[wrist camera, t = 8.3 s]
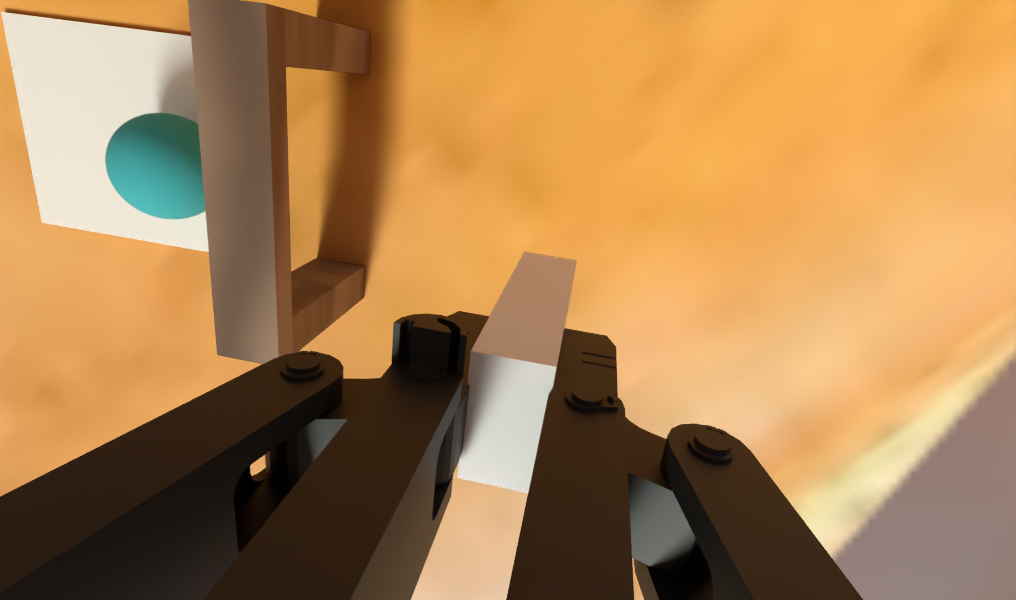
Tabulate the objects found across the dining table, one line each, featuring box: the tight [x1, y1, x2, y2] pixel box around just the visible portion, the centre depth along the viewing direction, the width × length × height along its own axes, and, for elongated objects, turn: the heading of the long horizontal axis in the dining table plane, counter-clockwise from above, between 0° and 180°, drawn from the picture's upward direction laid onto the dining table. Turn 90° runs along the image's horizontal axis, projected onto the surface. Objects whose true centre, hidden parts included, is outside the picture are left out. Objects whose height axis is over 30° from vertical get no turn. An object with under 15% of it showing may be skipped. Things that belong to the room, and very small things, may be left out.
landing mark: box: [1, 12, 209, 252], centre depth 32 cm, size 12×12×1 cm
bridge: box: [188, 0, 371, 364], centre depth 26 cm, size 3×14×9 cm, turn 173°
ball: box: [105, 113, 205, 219], centre depth 29 cm, size 6×6×6 cm
